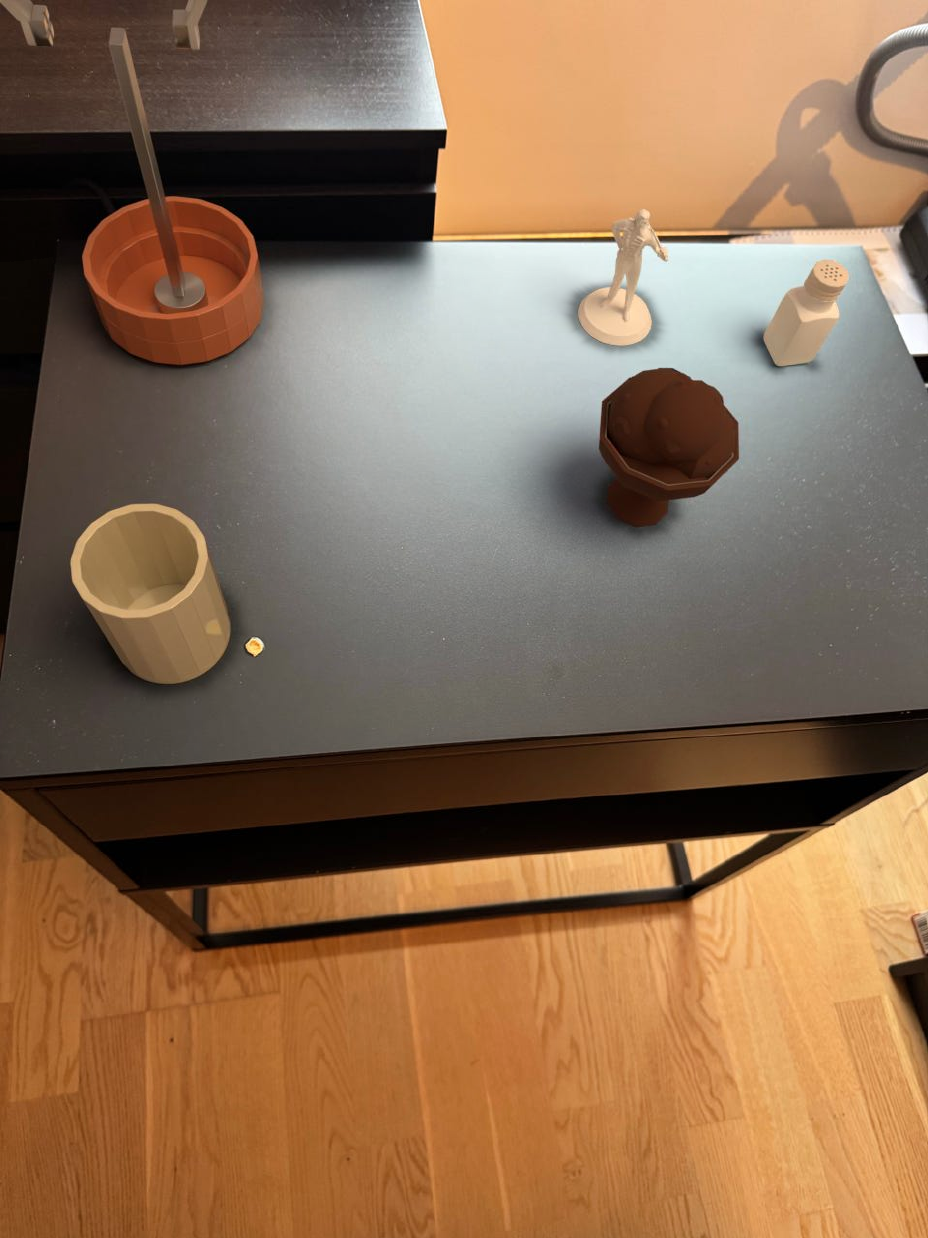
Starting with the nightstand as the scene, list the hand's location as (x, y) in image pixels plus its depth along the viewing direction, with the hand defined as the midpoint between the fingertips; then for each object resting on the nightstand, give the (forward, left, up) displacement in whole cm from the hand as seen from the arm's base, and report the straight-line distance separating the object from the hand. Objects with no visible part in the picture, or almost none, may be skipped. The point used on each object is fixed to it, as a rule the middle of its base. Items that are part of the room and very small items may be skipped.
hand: (116, 42), depth 61 cm
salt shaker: (+54, -15, -24) cm, 61 cm away
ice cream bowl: (+34, -28, -24) cm, 50 cm away
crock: (-5, -32, -24) cm, 40 cm away
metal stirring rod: (0, 0, -23) cm, 23 cm away
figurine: (+39, -8, -24) cm, 46 cm away
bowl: (0, 0, -24) cm, 24 cm away
